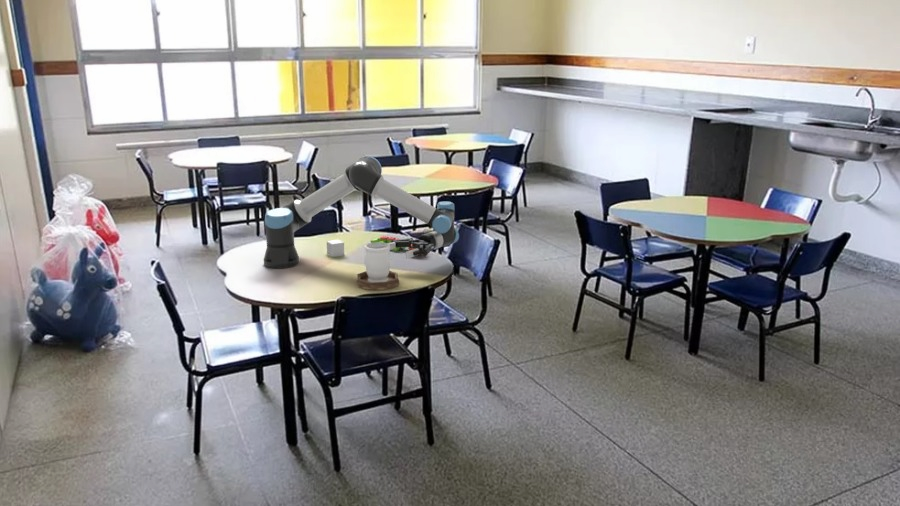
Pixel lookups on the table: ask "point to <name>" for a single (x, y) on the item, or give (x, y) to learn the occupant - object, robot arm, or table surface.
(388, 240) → the toy crocodile
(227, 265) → the table surface
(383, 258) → the jar
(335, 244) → the white cube
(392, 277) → the tray
